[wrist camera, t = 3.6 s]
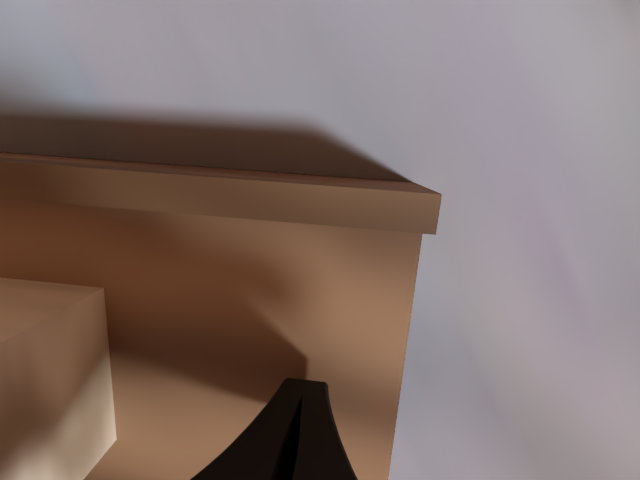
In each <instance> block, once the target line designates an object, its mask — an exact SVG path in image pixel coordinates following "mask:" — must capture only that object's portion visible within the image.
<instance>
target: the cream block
mask: <svg viewBox="0 0 640 480" xmlns="http://www.w3.org/2000/svg"><path fill="white" fill-rule="evenodd" d="M116 440H117V438H116V426H115V414H114V402H113V390H112V378H111V367H110V355H109V343H108V331H107V319H106V307H105V295H104V288H102V287H91V286H81V285H71V284H61V283H51V282H41V281H31V280H21V279H11V278H0V480H84V478H85V477H86V476H87V475H88V474H89V472H90V471H91V470H92V469H93V468H94V466H95V465H96V464H97V463H98V462H99V460H100V459H101V458H102V457H103V455H104V454H105V453H106V452H107V451H108V449H109V448H110V447H111V446H112V445H113V443H114V442H115V441H116Z"/></svg>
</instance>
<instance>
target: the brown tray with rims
mask: <svg viewBox="0 0 640 480" xmlns="http://www.w3.org/2000/svg"><path fill="white" fill-rule="evenodd" d="M441 196H442V194H440V193H437V192H435V191H433V190H430V189H428V188H425V187H423V186H421V185H418V184H416V183H414V182H401V181H388V180H374V179H360V178H347V177H333V176H319V175H306V174H292V173H278V172H264V171H251V170H237V169H223V168H210V167H196V166H182V165H169V164H155V163H141V162H128V161H114V160H100V159H86V158H73V157H59V156H45V155H32V154H18V153H4V152H0V278H11V279H21V280H31V281H41V282H51V283H61V284H71V285H81V286H91V287H102V288H104V295H105V307H106V319H107V331H108V343H109V355H110V367H111V378H112V390H113V402H114V414H115V426H116V438H117V440H116V441H115V442H114V443H113V445H112V446H111V447H110V448H109V449H108V451H107V452H106V453H105V454H104V455H103V457H102V458H101V459H100V460H99V462H98V463H97V464H96V465H95V466H94V468H93V469H92V470H91V471H90V472H89V474H88V475H87V476H86V477H85V478H84V480H190V479H191V478H193V477H194V476H195V475H196V474H197V473H199V472H200V471H201V470H202V469H204V468H205V467H206V466H207V465H208V464H210V463H211V462H212V461H213V460H214V459H215V458H216V457H217V456H219V455H220V454H221V453H222V452H223V451H224V450H225V449H226V448H227V447H228V446H229V445H230V444H231V443H232V442H233V441H234V440H235V439H236V438H237V437H238V436H239V435H240V434H241V433H242V432H243V431H244V430H245V429H246V428H247V427H248V426H249V424H250V423H251V422H252V421H253V420H254V419H255V418H256V416H257V415H258V414H259V413H260V412H261V410H262V409H263V408H264V407H265V406H266V404H267V403H268V402H269V401H270V399H271V398H272V397H273V395H274V394H275V393H276V391H277V390H278V388H279V387H280V385H281V384H282V382H283V381H284V380H285V379H286V378H294V379H303V380H312V381H320V382H326V383H327V385H328V391H329V399H330V404H331V409H332V413H333V417H334V420H335V423H336V426H337V430H338V433H339V436H340V439H341V441H342V444H343V447H344V449H345V452H346V454H347V457H348V459H349V461H350V464H351V466H352V468H353V470H354V473H355V475H356V477H357V479H358V480H388V476H389V469H390V462H391V454H392V447H393V440H394V433H395V426H396V419H397V411H398V404H399V397H400V390H401V383H402V376H403V368H404V361H405V354H406V347H407V340H408V333H409V325H410V318H411V311H412V304H413V297H414V289H415V282H416V275H417V268H418V261H419V254H420V246H421V239H422V233H423V234H435V235H436V229H437V223H438V216H439V209H440V203H441Z"/></svg>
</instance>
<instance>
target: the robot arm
mask: <svg viewBox="0 0 640 480" xmlns="http://www.w3.org/2000/svg"><path fill="white" fill-rule="evenodd" d="M190 480H358V479H357V477H356V475H355V473H354V470H353V468H352V466H351V464H350V461H349V459H348V457H347V454H346V452H345V449H344V447H343V444H342V441H341V439H340V436H339V433H338V430H337V426H336V423H335V420H334V417H333V413H332V409H331V404H330V399H329V391H328V385H327V383H326V382H320V381H312V380H303V379H294V378H286V379H285V380H284V381H283V382H282V384H281V385H280V387H279V388H278V390H277V391H276V393H275V394H274V395H273V397H272V398H271V399H270V401H269V402H268V403H267V404H266V406H265V407H264V408H263V409H262V410H261V412H260V413H259V414H258V415H257V416H256V418H255V419H254V420H253V421H252V422H251V423H250V424H249V426H248V427H247V428H246V429H245V430H244V431H243V432H242V433H241V434H240V435H239V436H238V437H237V438H236V439H235V440H234V441H233V442H232V443H231V444H230V445H229V446H228V447H227V448H226V449H225V450H224V451H223V452H222V453H221V454H220V455H219V456H217V457H216V458H215V459H214V460H213V461H212V462H211V463H210V464H208V465H207V466H206V467H205V468H204V469H202V470H201V471H200V472H199V473H197V474H196V475H195V476H194V477H193V478H191V479H190Z"/></svg>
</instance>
